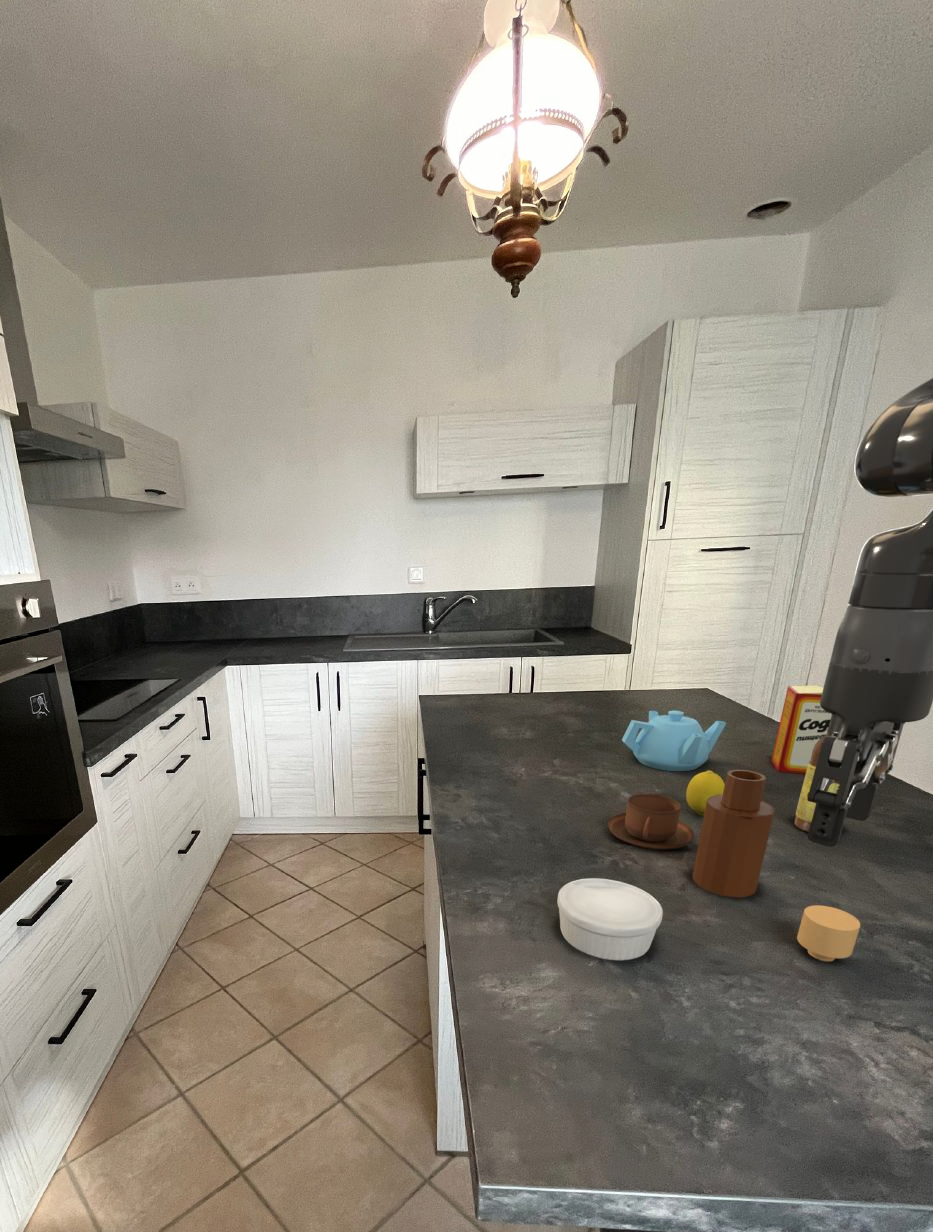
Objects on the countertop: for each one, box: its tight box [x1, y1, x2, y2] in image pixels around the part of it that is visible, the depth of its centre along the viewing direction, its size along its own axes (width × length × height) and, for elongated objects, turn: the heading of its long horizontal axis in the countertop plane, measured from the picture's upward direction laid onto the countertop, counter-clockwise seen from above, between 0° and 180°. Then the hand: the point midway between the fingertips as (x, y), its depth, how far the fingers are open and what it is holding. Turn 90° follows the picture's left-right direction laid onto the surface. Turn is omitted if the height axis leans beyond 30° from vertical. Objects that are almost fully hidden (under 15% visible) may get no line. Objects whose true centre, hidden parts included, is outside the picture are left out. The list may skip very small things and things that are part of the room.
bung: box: [796, 904, 861, 962], centre depth 67 cm, size 5×5×6 cm
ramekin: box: [556, 877, 664, 961], centre depth 71 cm, size 11×11×5 cm
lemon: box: [685, 770, 725, 817], centre depth 102 cm, size 6×6×8 cm
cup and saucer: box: [607, 793, 695, 851], centre depth 95 cm, size 12×12×6 cm
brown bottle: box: [692, 769, 776, 898], centre depth 79 cm, size 7×7×16 cm
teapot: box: [621, 710, 727, 772], centre depth 127 cm, size 15×15×11 cm
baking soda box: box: [770, 685, 832, 775], centre depth 120 cm, size 10×6×16 cm
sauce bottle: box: [794, 714, 847, 833], centre depth 94 cm, size 6×6×20 cm
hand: (838, 829), depth 59 cm, fingers open, 8 cm apart
